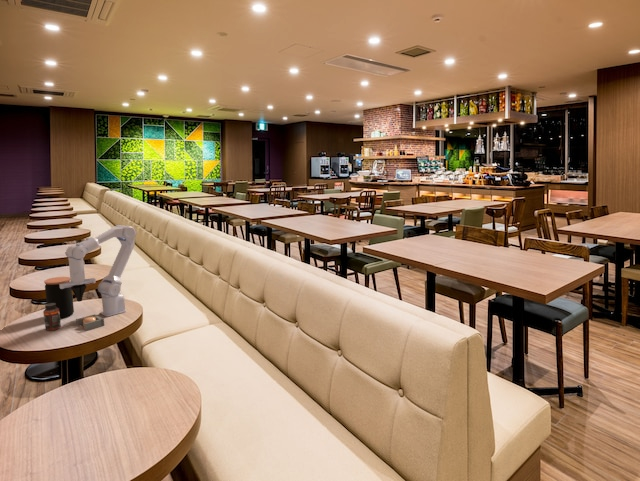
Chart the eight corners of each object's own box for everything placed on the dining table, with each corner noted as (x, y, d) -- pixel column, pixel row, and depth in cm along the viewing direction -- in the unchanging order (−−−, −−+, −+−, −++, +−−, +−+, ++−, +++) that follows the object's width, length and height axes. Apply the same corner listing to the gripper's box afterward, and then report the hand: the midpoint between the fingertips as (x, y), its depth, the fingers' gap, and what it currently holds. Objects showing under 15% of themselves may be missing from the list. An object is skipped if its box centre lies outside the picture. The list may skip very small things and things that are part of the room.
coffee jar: (79, 312, 207) (75, 277, 203) (62, 320, 196) (58, 283, 193) (60, 311, 208) (56, 276, 205) (42, 318, 198) (38, 282, 195)
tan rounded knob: (93, 323, 193) (92, 315, 193) (98, 325, 190) (97, 318, 189) (81, 326, 189) (81, 318, 189) (86, 329, 186) (85, 321, 186)
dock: (95, 320, 196) (94, 314, 196) (104, 325, 190) (103, 319, 190) (77, 325, 190) (76, 319, 189) (85, 330, 184) (85, 324, 184)
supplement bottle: (64, 326, 189) (61, 302, 187) (54, 331, 183) (52, 306, 181) (52, 325, 190) (49, 301, 188) (42, 330, 184) (39, 306, 182)
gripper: (62, 276, 181) (65, 306, 184) (97, 270, 193) (99, 299, 195) (56, 273, 186) (59, 303, 188) (91, 268, 197) (93, 296, 199)
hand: (79, 300), depth 192 cm, fingers closed
